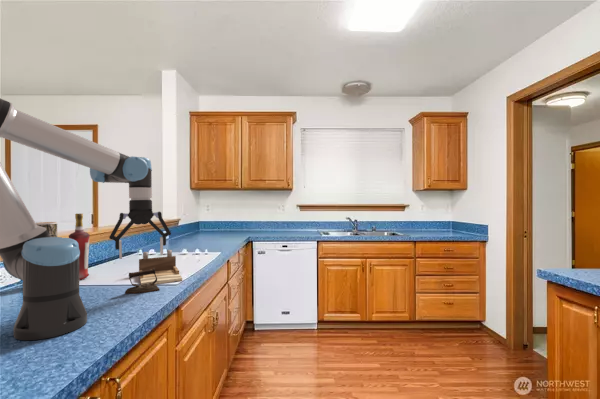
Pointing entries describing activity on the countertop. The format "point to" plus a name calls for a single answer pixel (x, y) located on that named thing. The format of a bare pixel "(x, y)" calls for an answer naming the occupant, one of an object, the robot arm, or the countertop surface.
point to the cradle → (159, 269)
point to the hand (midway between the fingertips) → (141, 256)
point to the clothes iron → (145, 287)
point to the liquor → (81, 246)
